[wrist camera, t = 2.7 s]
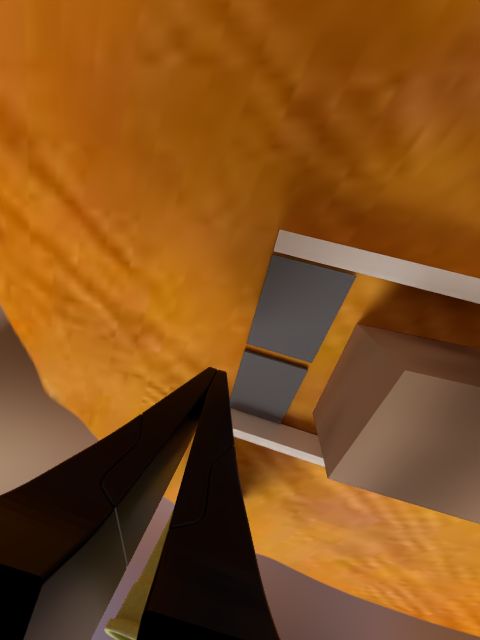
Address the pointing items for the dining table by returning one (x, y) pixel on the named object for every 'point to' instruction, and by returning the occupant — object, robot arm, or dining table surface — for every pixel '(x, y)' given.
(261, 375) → the pads
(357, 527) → the dining table surface
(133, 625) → the plant pot
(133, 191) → the dining table surface
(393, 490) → the walnut block
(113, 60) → the dining table surface
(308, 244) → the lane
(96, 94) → the dining table surface
